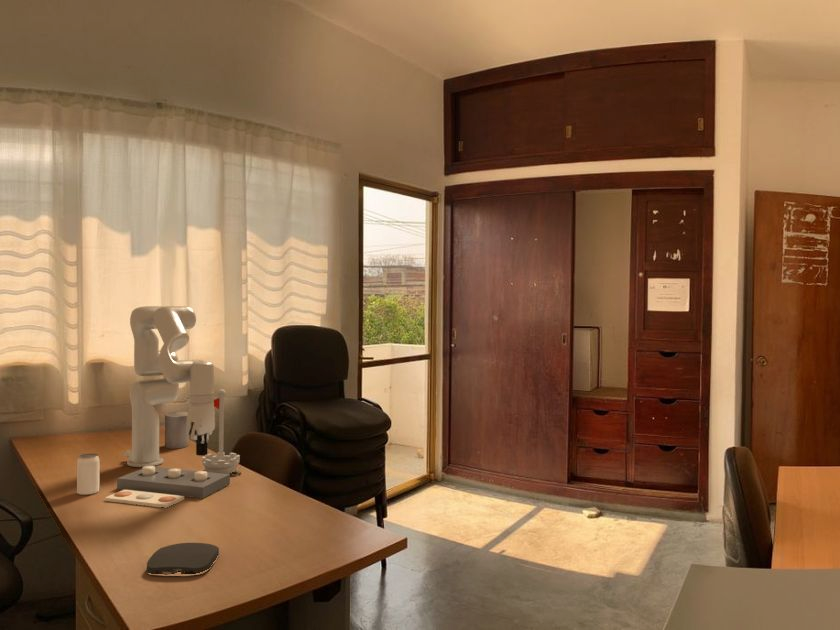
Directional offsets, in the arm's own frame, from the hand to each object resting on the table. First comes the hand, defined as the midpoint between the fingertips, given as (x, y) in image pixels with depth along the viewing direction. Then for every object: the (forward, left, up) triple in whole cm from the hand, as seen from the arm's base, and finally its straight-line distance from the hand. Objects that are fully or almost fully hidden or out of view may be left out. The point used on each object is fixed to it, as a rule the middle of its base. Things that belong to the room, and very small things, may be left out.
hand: (201, 454), depth 216 cm
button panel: (-10, 0, -12) cm, 16 cm away
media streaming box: (+30, -53, -12) cm, 62 cm away
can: (-32, -14, -12) cm, 37 cm away
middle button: (-10, 0, -9) cm, 14 cm away
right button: (0, 0, -9) cm, 9 cm away
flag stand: (-6, +22, -12) cm, 26 cm away
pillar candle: (-44, +50, -12) cm, 68 cm away
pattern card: (-10, -15, -12) cm, 21 cm away
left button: (-20, 0, -9) cm, 22 cm away
